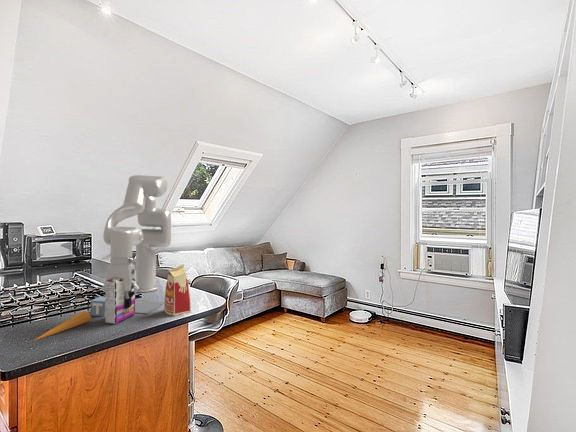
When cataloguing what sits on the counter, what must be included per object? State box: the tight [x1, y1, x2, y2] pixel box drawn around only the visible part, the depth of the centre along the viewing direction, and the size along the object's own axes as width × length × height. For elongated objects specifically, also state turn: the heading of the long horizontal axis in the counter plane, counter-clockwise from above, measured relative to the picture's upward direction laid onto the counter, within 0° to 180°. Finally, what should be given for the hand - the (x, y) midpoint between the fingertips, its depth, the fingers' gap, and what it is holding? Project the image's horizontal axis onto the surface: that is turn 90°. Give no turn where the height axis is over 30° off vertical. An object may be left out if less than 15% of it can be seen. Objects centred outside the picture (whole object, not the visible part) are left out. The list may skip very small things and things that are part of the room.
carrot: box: [33, 311, 92, 342], centre depth 113 cm, size 20×4×4 cm, turn 161°
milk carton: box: [163, 263, 192, 316], centre depth 136 cm, size 9×9×20 cm
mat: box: [135, 300, 164, 315], centre depth 140 cm, size 15×10×1 cm, turn 175°
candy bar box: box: [104, 279, 136, 325], centre depth 125 cm, size 11×5×16 cm, turn 169°
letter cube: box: [89, 295, 105, 317], centre depth 131 cm, size 6×6×6 cm
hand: (120, 306), depth 125 cm, fingers closed on candy bar box, 5 cm apart
